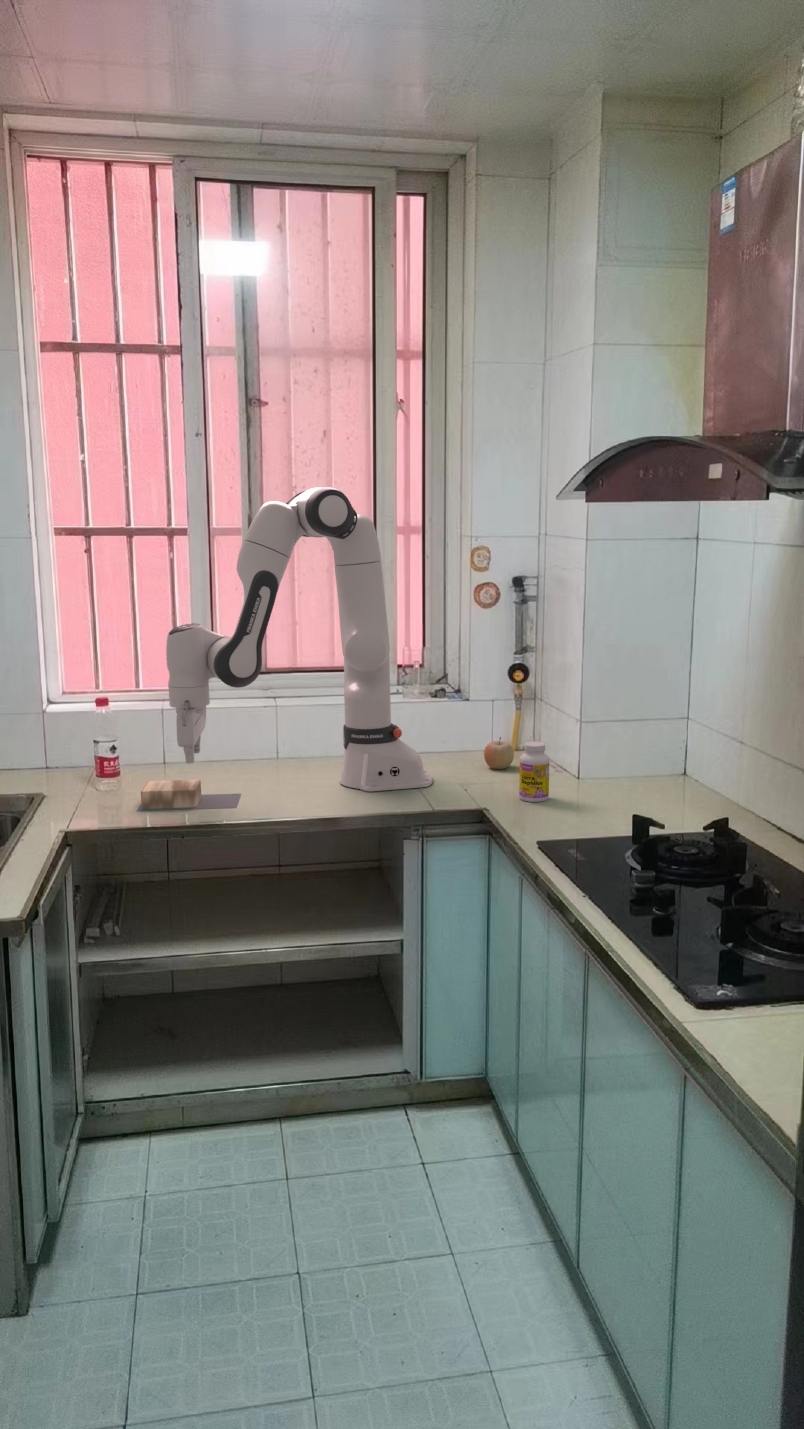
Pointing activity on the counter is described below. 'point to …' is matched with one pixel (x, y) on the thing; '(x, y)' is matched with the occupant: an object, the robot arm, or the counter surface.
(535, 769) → the supplement bottle
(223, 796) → the rubber mat
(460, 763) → the counter surface
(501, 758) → the fruit
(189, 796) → the wooden block
